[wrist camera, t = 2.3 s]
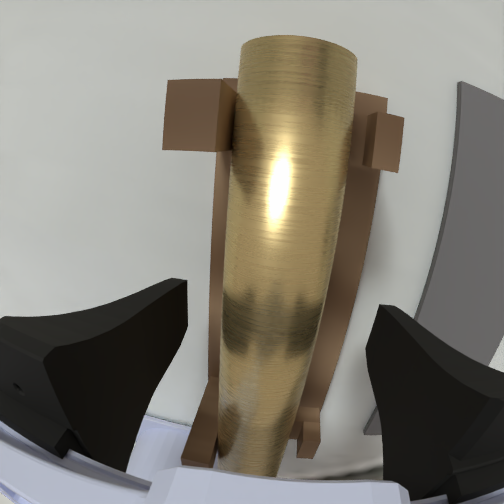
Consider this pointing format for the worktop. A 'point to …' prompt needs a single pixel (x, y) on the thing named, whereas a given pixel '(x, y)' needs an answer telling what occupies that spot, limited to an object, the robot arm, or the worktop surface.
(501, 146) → the mat
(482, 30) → the worktop surface
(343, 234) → the hook stand
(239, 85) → the rail
